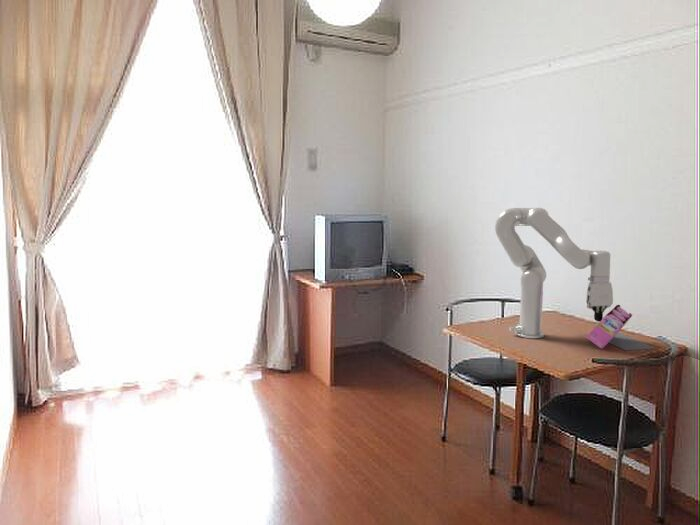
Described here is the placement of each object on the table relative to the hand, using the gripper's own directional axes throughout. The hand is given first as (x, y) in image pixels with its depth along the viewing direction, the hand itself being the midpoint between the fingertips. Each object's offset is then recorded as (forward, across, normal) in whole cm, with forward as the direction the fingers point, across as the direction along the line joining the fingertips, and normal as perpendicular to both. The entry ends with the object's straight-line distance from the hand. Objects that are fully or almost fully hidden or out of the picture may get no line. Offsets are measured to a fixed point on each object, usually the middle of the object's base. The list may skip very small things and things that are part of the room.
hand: (598, 320), depth 239 cm
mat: (+10, +12, +1) cm, 16 cm away
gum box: (+8, +2, +1) cm, 8 cm away
